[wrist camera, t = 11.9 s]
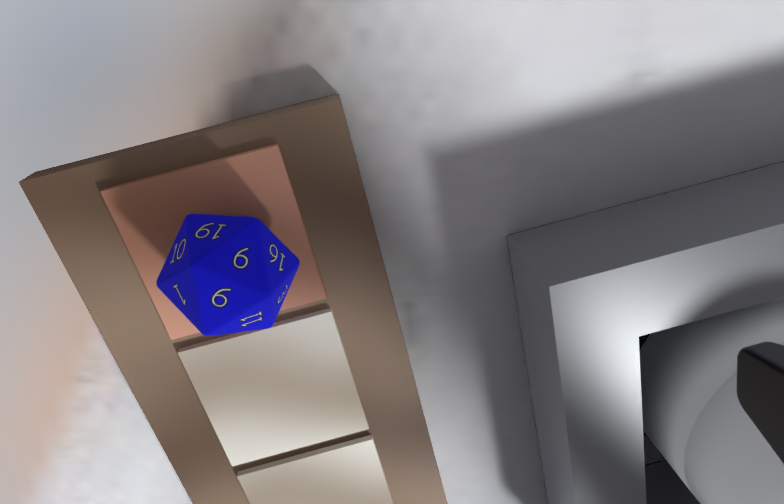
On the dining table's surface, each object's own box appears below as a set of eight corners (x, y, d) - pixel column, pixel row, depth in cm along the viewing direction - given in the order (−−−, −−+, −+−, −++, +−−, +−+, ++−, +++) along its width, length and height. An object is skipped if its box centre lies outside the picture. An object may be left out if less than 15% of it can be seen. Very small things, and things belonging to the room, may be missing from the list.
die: (320, 255, 14) (285, 369, 12) (224, 247, 14) (178, 356, 13) (288, 180, 12) (239, 308, 10) (175, 175, 12) (112, 295, 11)
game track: (469, 587, 21) (476, 614, 20) (280, 640, 21) (279, 669, 20) (338, 93, 13) (340, 100, 12) (35, 171, 13) (14, 185, 12)
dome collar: (867, 443, 21) (951, 510, 18) (552, 532, 20) (589, 614, 18) (925, 123, 15) (1056, 149, 13) (506, 235, 15) (549, 286, 12)
